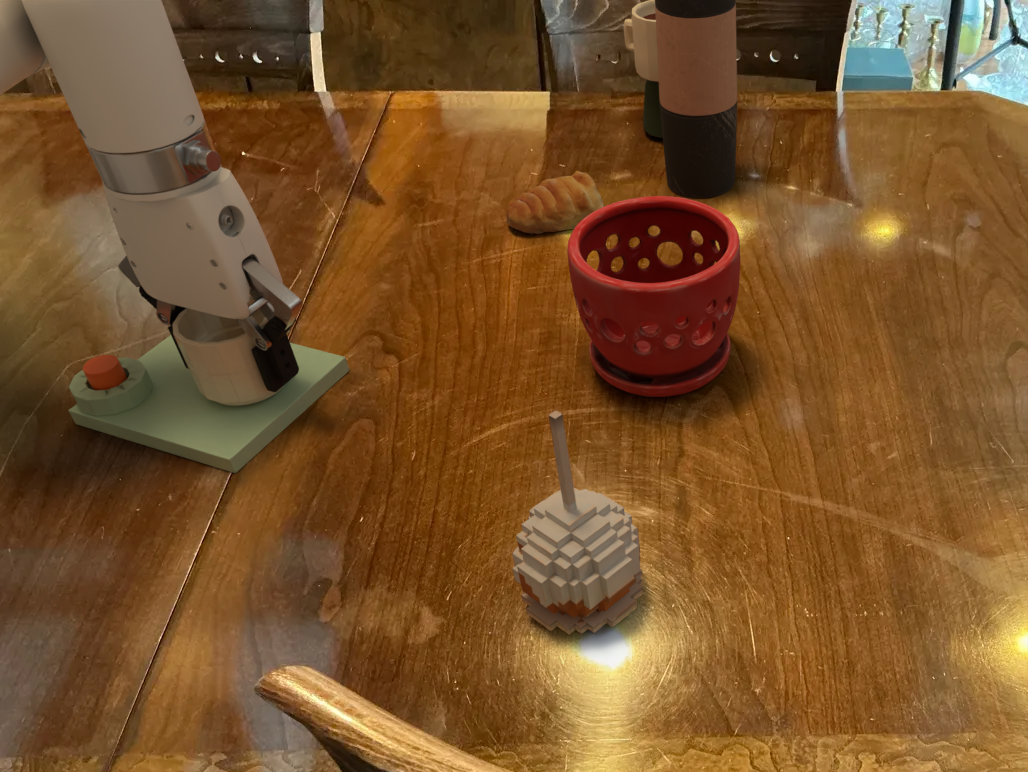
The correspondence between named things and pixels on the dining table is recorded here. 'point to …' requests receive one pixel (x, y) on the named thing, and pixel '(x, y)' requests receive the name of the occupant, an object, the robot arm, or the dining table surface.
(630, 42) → the character mug
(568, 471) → the candy apple
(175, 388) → the scale
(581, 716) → the dining table surface
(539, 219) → the pastry
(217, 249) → the robot arm
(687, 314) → the flower pot
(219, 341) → the white cup
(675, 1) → the travel mug
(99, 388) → the tare button
